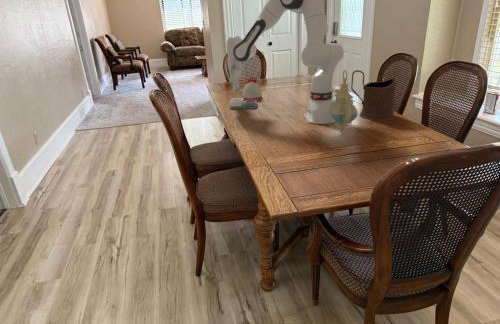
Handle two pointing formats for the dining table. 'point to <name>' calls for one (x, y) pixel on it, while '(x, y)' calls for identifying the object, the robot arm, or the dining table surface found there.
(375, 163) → the dining table surface
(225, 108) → the dining table surface
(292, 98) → the dining table surface
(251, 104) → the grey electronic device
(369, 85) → the brown pitcher
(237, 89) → the cell
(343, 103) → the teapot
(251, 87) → the kitchen timer
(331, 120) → the robot arm
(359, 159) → the dining table surface
